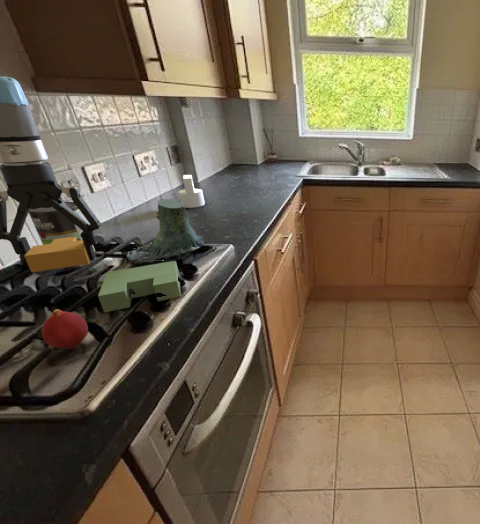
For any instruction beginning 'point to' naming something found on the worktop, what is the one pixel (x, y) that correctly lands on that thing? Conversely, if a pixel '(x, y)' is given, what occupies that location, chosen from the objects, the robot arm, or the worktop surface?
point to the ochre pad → (57, 255)
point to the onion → (64, 330)
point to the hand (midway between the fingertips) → (64, 262)
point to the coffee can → (55, 224)
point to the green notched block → (139, 284)
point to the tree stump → (170, 235)
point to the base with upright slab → (191, 194)
